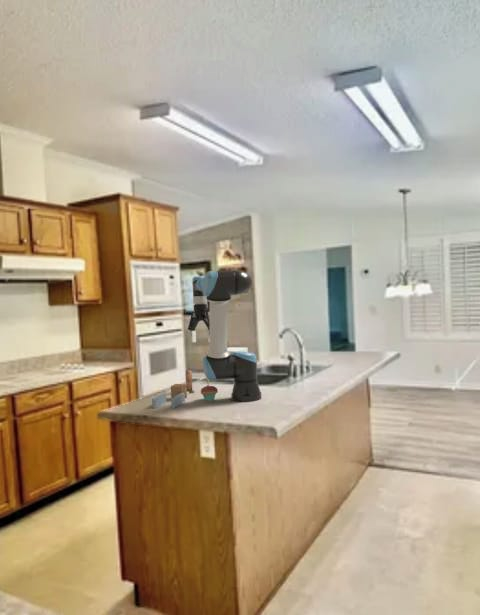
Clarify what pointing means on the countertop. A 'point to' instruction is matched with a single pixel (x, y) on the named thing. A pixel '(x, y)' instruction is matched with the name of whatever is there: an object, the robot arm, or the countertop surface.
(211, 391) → the cupcake
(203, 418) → the countertop surface
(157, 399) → the lane
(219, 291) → the robot arm
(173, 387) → the tethered block
